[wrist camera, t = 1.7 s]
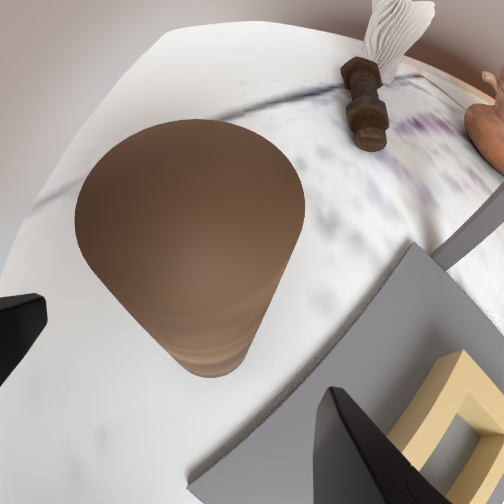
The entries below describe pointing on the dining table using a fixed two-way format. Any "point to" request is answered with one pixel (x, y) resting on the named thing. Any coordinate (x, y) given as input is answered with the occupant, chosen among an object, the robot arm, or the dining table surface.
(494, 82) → the ceramic jug
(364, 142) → the bolt
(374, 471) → the robot arm
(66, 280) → the dining table surface
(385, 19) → the shell sculpture
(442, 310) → the socket stand
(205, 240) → the walnut peg
